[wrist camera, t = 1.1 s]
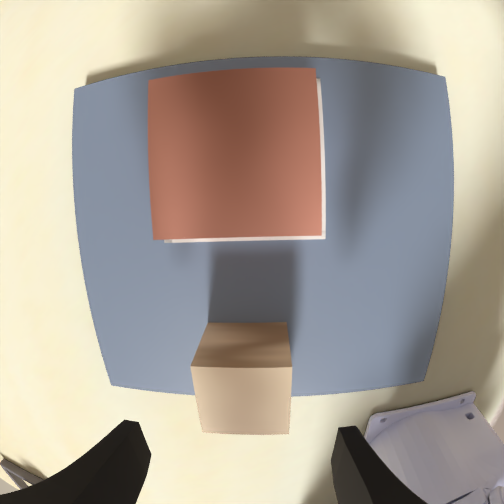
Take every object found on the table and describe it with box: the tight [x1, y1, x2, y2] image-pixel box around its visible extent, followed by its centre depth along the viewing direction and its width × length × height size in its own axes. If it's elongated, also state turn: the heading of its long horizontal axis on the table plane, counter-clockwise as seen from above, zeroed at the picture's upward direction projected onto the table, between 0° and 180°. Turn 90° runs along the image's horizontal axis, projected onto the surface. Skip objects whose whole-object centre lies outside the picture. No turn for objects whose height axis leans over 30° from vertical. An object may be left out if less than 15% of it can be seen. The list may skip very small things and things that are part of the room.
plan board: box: [72, 57, 454, 397], centre depth 15 cm, size 20×18×1 cm
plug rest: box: [0, 459, 43, 489], centre depth 25 cm, size 18×12×2 cm, turn 92°
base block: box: [148, 68, 322, 240], centre depth 12 cm, size 6×6×4 cm
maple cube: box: [190, 322, 292, 435], centre depth 14 cm, size 4×4×4 cm
